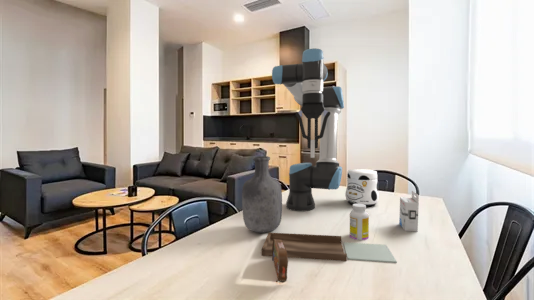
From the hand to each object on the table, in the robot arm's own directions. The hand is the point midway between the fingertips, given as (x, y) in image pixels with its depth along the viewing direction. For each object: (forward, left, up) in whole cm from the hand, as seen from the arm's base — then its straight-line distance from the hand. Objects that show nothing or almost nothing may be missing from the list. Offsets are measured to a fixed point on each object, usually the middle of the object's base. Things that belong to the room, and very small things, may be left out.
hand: (312, 157), depth 102 cm
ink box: (-15, +39, -31) cm, 52 cm away
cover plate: (+13, +18, -31) cm, 38 cm away
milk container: (-51, +27, -31) cm, 65 cm away
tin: (+28, -9, -31) cm, 43 cm away
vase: (-4, -20, -31) cm, 37 cm away
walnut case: (+13, -3, -30) cm, 33 cm away
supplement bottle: (0, +17, -31) cm, 35 cm away
